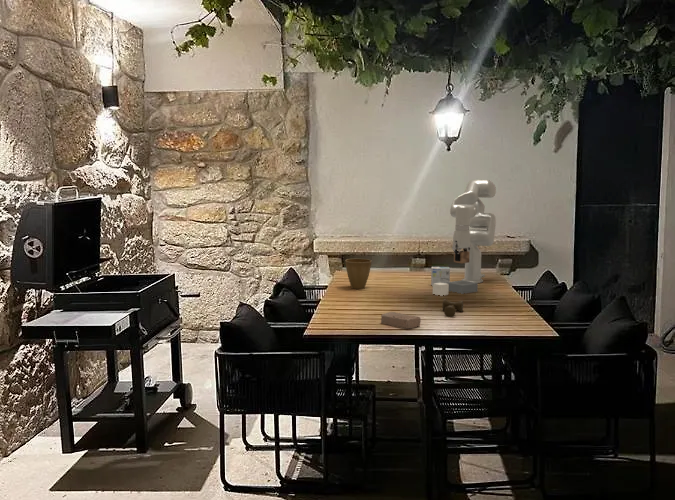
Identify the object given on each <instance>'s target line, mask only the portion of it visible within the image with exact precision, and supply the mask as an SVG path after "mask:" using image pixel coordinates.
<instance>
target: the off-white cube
mask: <svg viewBox="0 0 675 500" xmlns="http://www.w3.org/2000/svg"><path fill="white" fill-rule="evenodd" d="M449 292H450V291H449V284H446V283H434V284H433V286H432V295H433V294H435V295H434V296H438V295H440V296H439V297H444V296H448V295H449ZM443 295H444V296H443Z"/></svg>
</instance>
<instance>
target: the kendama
mask: <svg viewBox="0 0 675 500" xmlns="http://www.w3.org/2000/svg"><path fill="white" fill-rule="evenodd" d="M443 310H444V311H443ZM463 310H464V300H459V301H450V300H448V299H446V298H443V300H442V311H443V313H444V316H446V317H447V316H453V317H454V316H455V315H456V311H458V312H460V311H461V312H462V313H463ZM461 312H460V313H461Z"/></svg>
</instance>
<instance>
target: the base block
mask: <svg viewBox="0 0 675 500" xmlns="http://www.w3.org/2000/svg"><path fill="white" fill-rule="evenodd" d="M447 284H449V292H451V291H452V292H451V293H455V292H457V293H456V294H460V293H461V295H464V293H465V294H472V293H477V292H478V287H479V285H478V284H479V283H474V282H468V281H463V280H462V279H460V280H454V281H450V282H447Z"/></svg>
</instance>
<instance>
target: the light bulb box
mask: <svg viewBox="0 0 675 500" xmlns="http://www.w3.org/2000/svg"><path fill="white" fill-rule="evenodd" d="M430 271H431V273H430V275H431V278H430V279H431V285H432V286H431V287H433V284H434V283H446V284H447V282H451V279H450V277H451V272H450V271H451V269H450V267H449V266H431V270H430Z"/></svg>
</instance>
